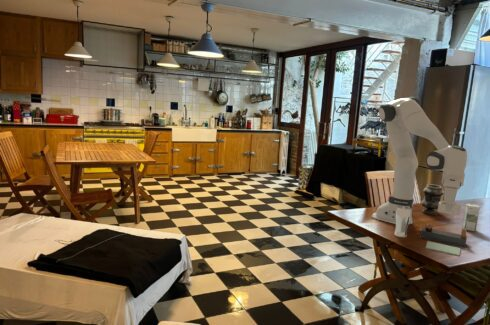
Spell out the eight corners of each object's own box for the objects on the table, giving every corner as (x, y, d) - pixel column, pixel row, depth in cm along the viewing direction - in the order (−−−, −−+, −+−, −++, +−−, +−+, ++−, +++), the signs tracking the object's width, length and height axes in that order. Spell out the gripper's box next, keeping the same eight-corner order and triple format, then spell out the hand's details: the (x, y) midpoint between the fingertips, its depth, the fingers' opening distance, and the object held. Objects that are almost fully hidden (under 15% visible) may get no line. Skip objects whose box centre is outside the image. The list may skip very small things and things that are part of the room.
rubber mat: (425, 248, 171) (425, 247, 171) (427, 242, 180) (427, 241, 180) (459, 256, 164) (459, 254, 164) (460, 249, 172) (460, 248, 172)
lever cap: (437, 211, 170) (438, 201, 169) (438, 209, 174) (439, 199, 173) (459, 215, 165) (461, 205, 164) (460, 212, 169) (461, 202, 168)
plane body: (420, 237, 186) (422, 222, 184) (421, 233, 192) (423, 219, 190) (465, 247, 175) (467, 231, 174) (465, 243, 181) (468, 228, 180)
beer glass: (395, 232, 192) (399, 204, 190) (409, 235, 188) (413, 207, 186) (391, 235, 187) (394, 207, 185) (405, 238, 183) (409, 210, 180)
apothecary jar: (439, 216, 226) (443, 188, 223) (418, 212, 232) (422, 185, 229) (441, 212, 236) (445, 185, 233) (420, 208, 242) (424, 182, 240)
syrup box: (473, 228, 205) (477, 204, 203) (475, 232, 200) (480, 206, 197) (462, 227, 207) (466, 202, 205) (464, 230, 202) (468, 205, 199)
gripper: (446, 176, 177) (443, 203, 180) (443, 183, 160) (439, 212, 162) (461, 178, 174) (457, 206, 176) (459, 185, 157) (455, 215, 159)
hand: (448, 209), depth 169 cm, fingers closed on lever cap, 5 cm apart
